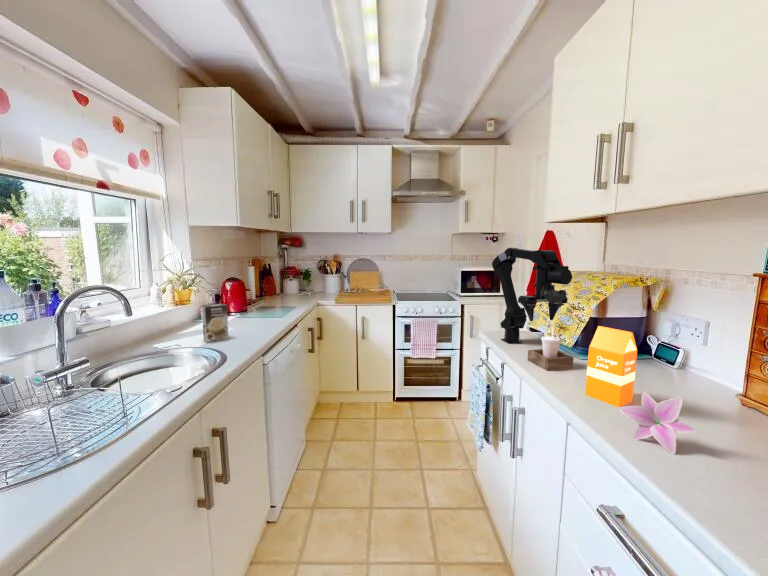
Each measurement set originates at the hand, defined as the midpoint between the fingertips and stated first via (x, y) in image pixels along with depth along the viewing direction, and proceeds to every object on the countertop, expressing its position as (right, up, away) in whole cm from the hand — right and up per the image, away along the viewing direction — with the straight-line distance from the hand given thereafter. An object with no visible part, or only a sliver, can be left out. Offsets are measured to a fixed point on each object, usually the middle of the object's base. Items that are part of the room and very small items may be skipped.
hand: (541, 320), depth 132 cm
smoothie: (-3, -15, -12) cm, 19 cm away
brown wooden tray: (-3, -15, -12) cm, 19 cm away
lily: (-3, -21, -59) cm, 63 cm away
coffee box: (-139, -11, +17) cm, 141 cm away
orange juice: (0, -18, -39) cm, 43 cm away
